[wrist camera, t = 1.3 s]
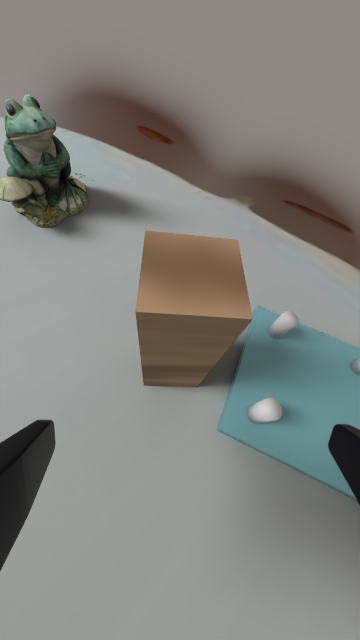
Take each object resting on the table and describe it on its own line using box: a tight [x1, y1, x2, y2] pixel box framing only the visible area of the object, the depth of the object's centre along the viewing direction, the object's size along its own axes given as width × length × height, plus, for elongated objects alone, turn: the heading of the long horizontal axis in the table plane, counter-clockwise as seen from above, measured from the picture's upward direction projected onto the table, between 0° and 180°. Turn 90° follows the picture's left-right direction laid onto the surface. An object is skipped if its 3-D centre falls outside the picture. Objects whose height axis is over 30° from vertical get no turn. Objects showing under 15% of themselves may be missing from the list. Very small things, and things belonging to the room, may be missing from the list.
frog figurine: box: [0, 94, 94, 228], centre depth 26 cm, size 18×18×12 cm
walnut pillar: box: [136, 231, 253, 387], centre depth 16 cm, size 5×5×13 cm
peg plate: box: [217, 306, 360, 500], centre depth 20 cm, size 14×14×4 cm
